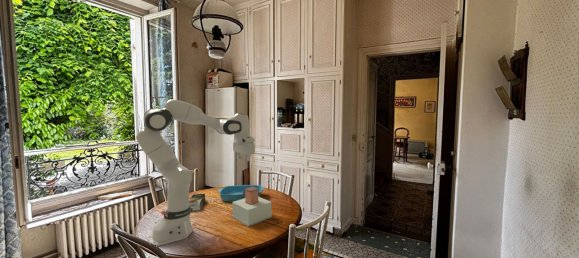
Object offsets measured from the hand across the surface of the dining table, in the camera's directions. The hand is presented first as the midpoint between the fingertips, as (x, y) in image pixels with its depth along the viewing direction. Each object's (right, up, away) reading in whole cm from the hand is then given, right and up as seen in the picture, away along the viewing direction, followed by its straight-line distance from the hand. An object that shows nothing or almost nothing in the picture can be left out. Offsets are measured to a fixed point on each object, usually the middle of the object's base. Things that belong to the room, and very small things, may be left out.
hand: (243, 159), depth 151 cm
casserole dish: (-9, -36, +38) cm, 53 cm away
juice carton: (-39, -37, +22) cm, 58 cm away
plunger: (+5, -31, +1) cm, 31 cm away
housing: (+5, -38, +2) cm, 38 cm away
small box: (+1, -36, +23) cm, 43 cm away
